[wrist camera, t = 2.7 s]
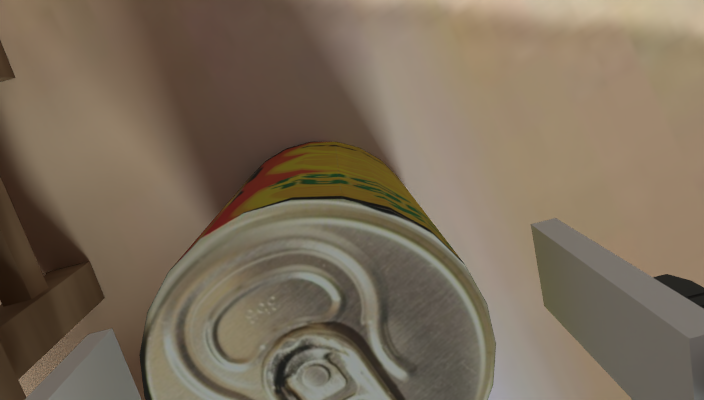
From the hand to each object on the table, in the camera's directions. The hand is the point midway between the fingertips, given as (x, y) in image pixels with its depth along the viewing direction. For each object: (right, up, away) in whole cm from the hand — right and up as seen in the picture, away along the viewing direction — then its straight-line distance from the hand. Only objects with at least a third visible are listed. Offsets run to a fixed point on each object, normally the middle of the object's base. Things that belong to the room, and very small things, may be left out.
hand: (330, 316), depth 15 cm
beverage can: (-1, +2, +9) cm, 10 cm away
